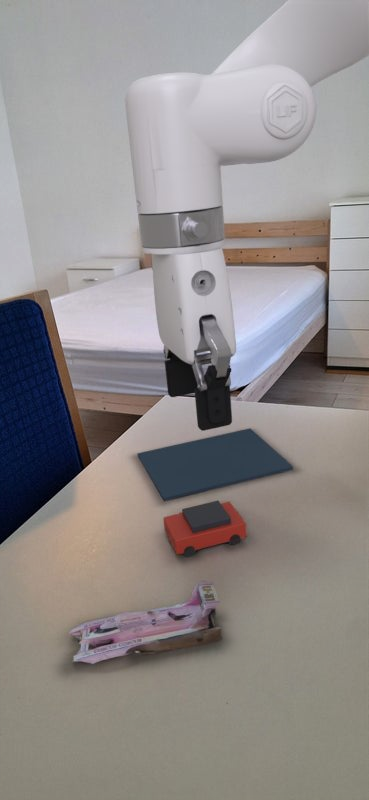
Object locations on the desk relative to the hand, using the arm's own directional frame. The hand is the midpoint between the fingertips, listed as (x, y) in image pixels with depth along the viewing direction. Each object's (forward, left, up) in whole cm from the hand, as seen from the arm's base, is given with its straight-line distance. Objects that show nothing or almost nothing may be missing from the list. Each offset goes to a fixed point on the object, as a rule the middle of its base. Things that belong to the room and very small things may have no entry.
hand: (198, 409), depth 59 cm
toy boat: (+10, +10, -16) cm, 22 cm away
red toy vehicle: (0, +1, -15) cm, 15 cm away
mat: (-7, -18, -16) cm, 26 cm away
